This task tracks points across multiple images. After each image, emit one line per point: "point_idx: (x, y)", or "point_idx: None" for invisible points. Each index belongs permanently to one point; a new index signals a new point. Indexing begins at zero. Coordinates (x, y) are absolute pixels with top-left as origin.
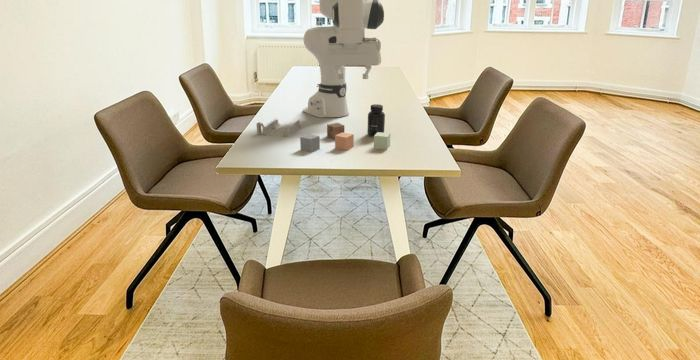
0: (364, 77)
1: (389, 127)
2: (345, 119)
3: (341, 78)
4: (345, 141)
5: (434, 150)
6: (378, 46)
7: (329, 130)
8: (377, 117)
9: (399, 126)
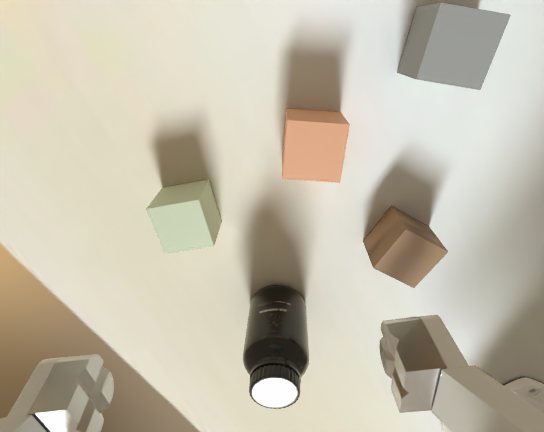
0: (61, 368)
1: None
2: None
3: (384, 321)
4: (292, 116)
5: (35, 247)
6: None
7: (424, 232)
8: (257, 338)
9: None
